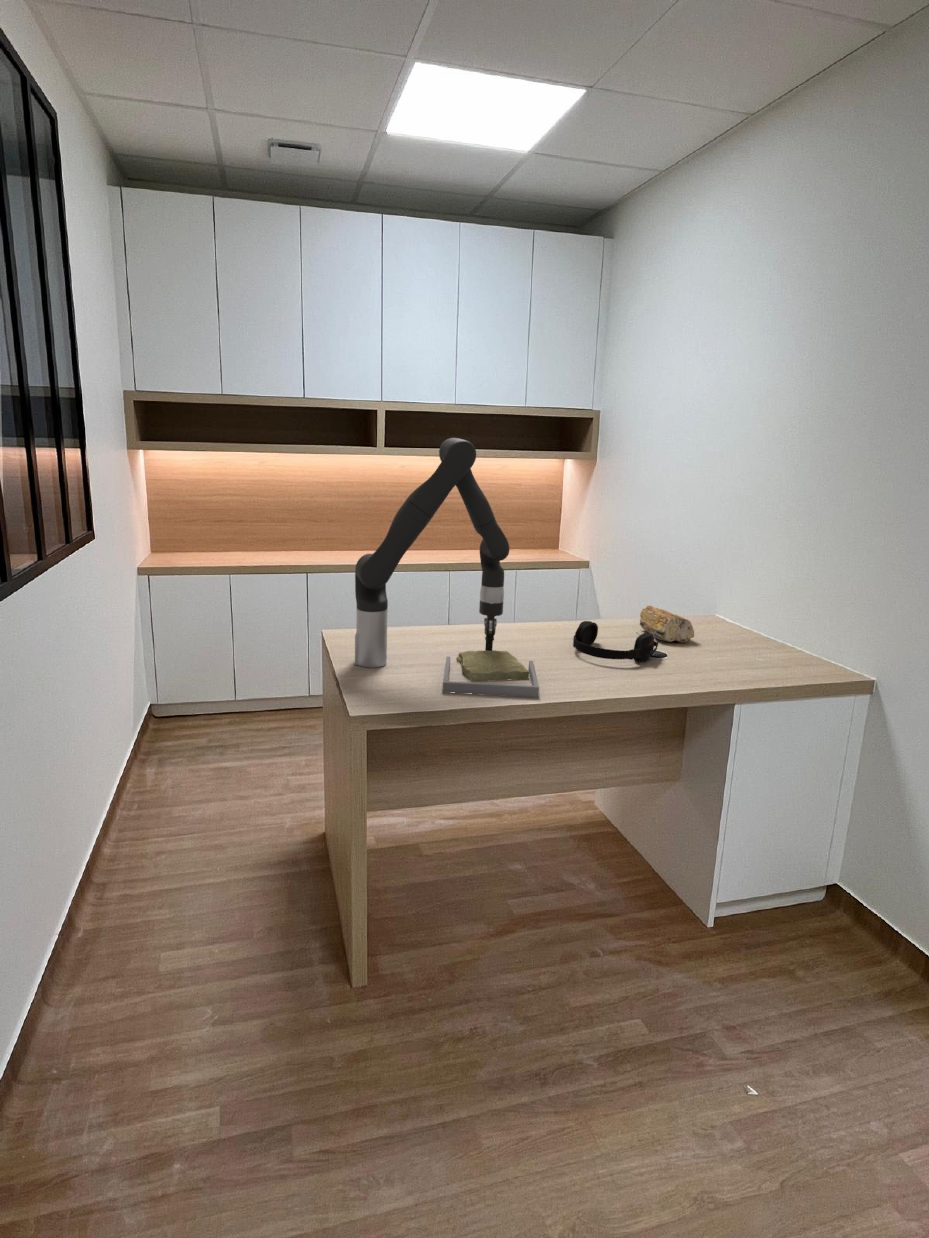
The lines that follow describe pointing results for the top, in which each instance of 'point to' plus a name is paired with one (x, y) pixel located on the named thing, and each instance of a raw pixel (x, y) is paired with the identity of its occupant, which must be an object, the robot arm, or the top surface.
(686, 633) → the petrified wood
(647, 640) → the headset
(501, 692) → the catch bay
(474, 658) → the decorative tile
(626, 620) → the top surface
